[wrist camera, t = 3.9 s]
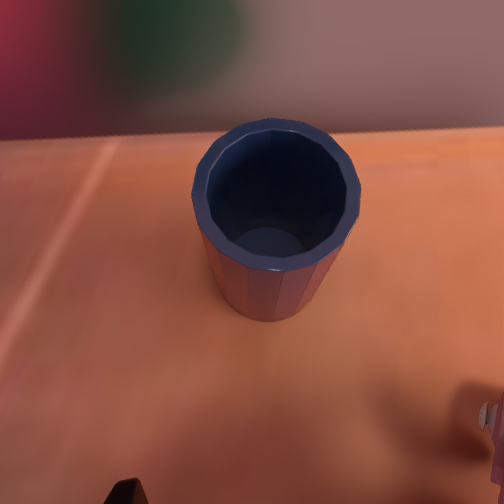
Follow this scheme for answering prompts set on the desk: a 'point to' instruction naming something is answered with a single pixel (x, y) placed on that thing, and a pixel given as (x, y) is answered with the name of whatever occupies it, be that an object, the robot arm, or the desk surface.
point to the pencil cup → (274, 213)
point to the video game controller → (495, 440)
